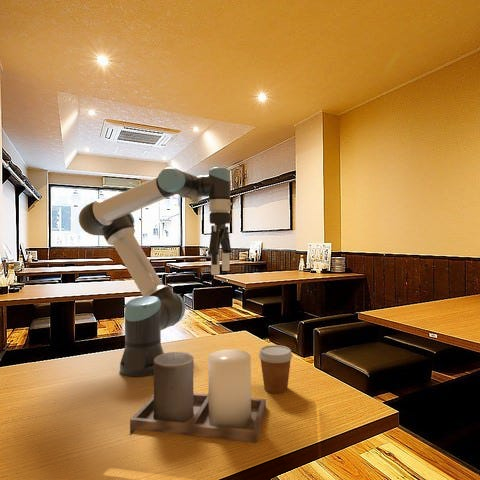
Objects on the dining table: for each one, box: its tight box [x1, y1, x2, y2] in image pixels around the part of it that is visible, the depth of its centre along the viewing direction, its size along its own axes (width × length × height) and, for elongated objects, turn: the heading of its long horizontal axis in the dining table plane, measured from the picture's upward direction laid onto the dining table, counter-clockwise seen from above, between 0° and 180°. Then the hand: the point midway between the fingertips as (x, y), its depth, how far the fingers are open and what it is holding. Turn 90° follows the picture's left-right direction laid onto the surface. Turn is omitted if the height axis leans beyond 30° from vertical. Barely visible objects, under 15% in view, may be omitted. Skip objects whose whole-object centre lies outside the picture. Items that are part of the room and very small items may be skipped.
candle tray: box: [129, 392, 267, 443], centre depth 80 cm, size 29×15×3 cm, turn 78°
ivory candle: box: [207, 348, 252, 429], centre depth 79 cm, size 10×10×15 cm
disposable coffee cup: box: [258, 344, 293, 395], centre depth 95 cm, size 10×10×12 cm
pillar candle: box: [153, 351, 195, 422], centre depth 82 cm, size 10×10×15 cm
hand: (220, 272), depth 119 cm, fingers open, 13 cm apart
